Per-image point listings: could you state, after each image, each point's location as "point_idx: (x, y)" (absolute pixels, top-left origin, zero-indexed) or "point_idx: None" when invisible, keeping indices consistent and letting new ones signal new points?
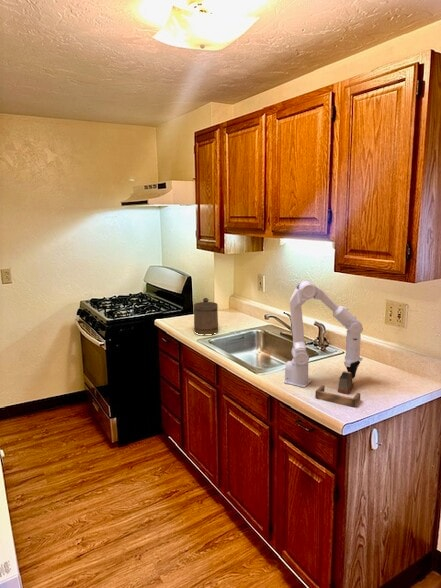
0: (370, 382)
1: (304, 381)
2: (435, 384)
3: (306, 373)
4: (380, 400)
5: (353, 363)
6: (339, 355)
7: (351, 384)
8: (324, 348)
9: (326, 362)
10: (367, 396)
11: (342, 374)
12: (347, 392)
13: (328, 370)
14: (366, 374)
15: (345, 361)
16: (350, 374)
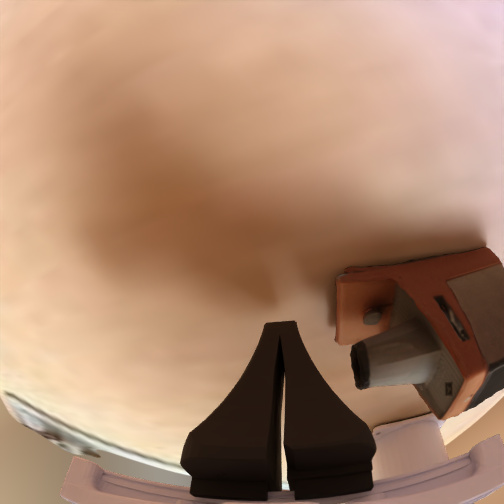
0: (157, 191)
1: (435, 431)
2: None
3: (435, 462)
4: (472, 18)
5: (340, 475)
6: (32, 403)
7: (438, 283)
8: (43, 433)
9: (118, 433)
10: (469, 115)
11: (497, 389)
12: (494, 256)
13: (188, 425)
14: (58, 274)
15: (475, 501)
16: (484, 359)
